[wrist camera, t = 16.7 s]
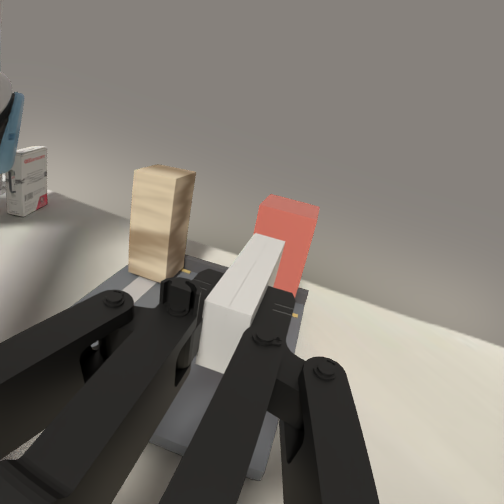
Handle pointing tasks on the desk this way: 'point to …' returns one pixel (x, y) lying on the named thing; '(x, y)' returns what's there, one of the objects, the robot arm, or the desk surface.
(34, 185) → the ink box
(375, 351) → the desk surface
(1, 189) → the french press
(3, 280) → the desk surface
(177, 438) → the track board
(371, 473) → the robot arm
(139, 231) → the birch slider
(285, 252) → the red slider
